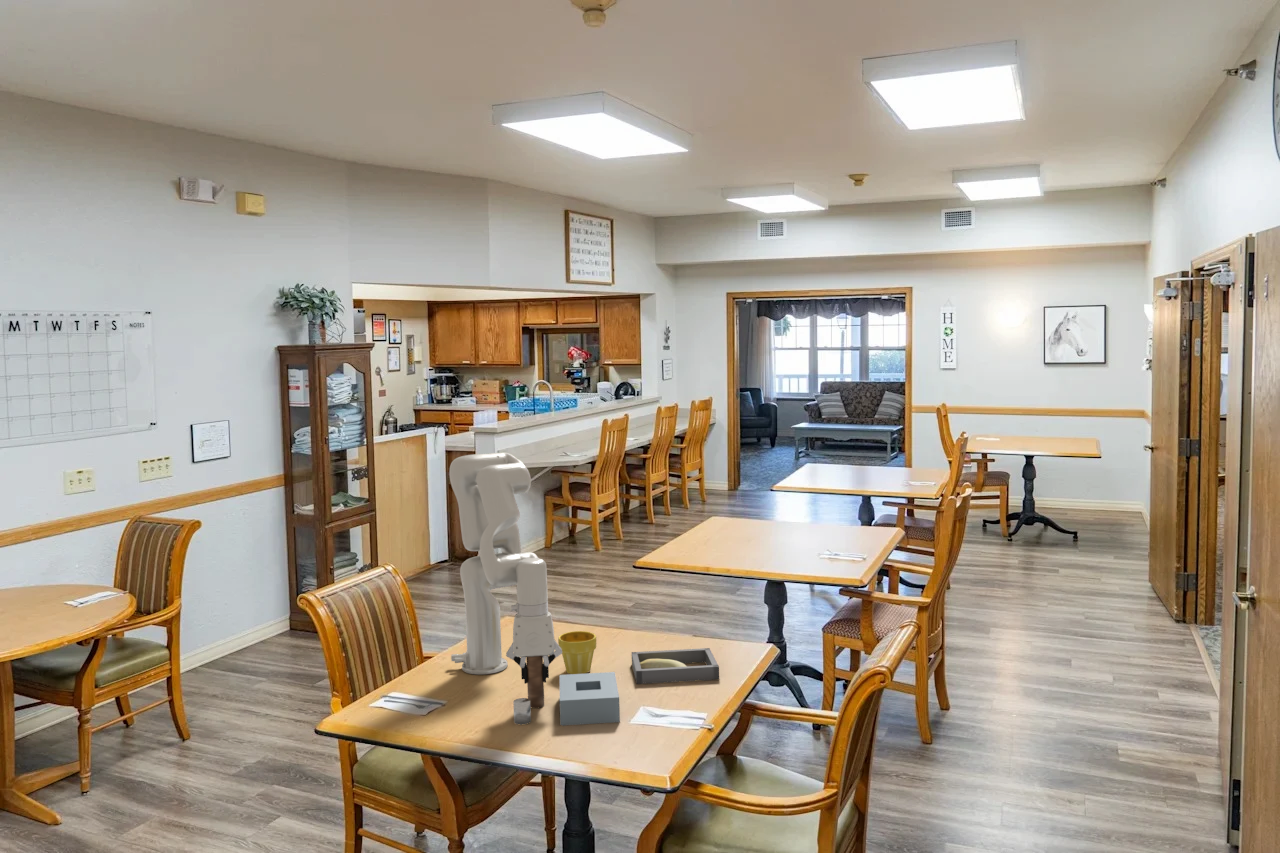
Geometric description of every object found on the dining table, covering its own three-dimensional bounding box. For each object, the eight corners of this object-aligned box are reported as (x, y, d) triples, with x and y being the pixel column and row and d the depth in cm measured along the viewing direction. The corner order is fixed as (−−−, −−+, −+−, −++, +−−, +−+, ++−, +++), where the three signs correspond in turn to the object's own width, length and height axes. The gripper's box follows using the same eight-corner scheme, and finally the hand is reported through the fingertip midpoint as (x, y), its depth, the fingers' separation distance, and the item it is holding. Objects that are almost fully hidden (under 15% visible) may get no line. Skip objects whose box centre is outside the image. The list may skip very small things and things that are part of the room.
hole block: (560, 725, 223) (559, 700, 223) (560, 698, 241) (559, 674, 240) (619, 722, 224) (619, 697, 224) (615, 694, 242) (614, 671, 242)
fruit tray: (636, 684, 250) (636, 671, 249) (631, 664, 265) (631, 652, 265) (719, 679, 251) (719, 666, 251) (709, 660, 267) (709, 648, 267)
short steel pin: (513, 725, 224) (513, 704, 224) (514, 718, 228) (513, 698, 228) (530, 724, 224) (530, 703, 224) (531, 717, 228) (530, 697, 228)
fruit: (653, 665, 266) (653, 653, 266) (697, 675, 256) (697, 663, 256) (637, 672, 260) (637, 660, 260) (682, 683, 251) (682, 670, 251)
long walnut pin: (527, 708, 234) (525, 649, 233) (528, 702, 238) (526, 644, 237) (544, 707, 235) (542, 648, 233) (544, 701, 239) (542, 643, 237)
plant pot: (583, 679, 254) (582, 643, 253) (552, 674, 259) (550, 639, 259) (604, 668, 263) (603, 633, 262) (573, 662, 268) (572, 628, 268)
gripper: (497, 614, 230) (500, 688, 232) (566, 611, 232) (569, 684, 233) (499, 606, 238) (502, 678, 239) (566, 603, 239) (568, 674, 240)
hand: (535, 680), depth 236 cm, fingers closed on long walnut pin, 4 cm apart
